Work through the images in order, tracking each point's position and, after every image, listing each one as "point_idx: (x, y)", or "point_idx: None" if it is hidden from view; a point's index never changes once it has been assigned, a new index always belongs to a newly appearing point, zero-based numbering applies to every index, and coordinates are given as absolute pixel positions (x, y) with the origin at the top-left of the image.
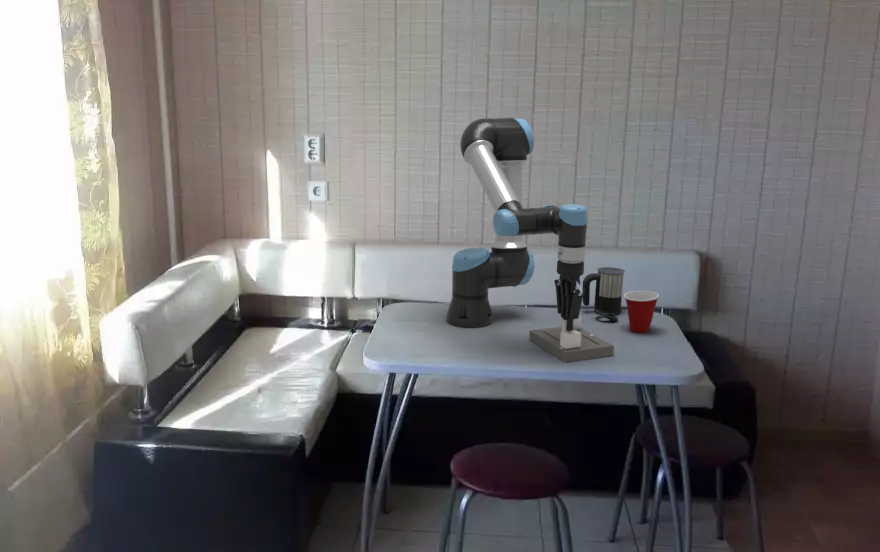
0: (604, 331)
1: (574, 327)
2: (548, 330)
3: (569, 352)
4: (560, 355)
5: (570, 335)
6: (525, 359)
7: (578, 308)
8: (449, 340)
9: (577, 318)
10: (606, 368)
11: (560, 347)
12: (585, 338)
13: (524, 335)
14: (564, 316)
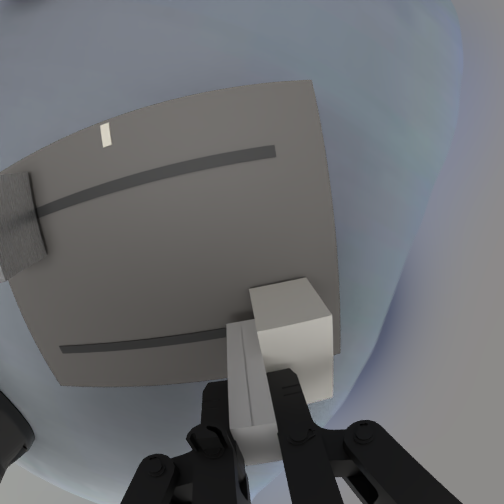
0: (15, 59)
1: (28, 214)
2: (45, 326)
3: (338, 337)
4: None
5: (331, 375)
6: None
7: (436, 493)
8: (117, 479)
9: (371, 424)
10: (418, 200)
11: None
12: (154, 189)
13: (39, 357)
14: (244, 468)
